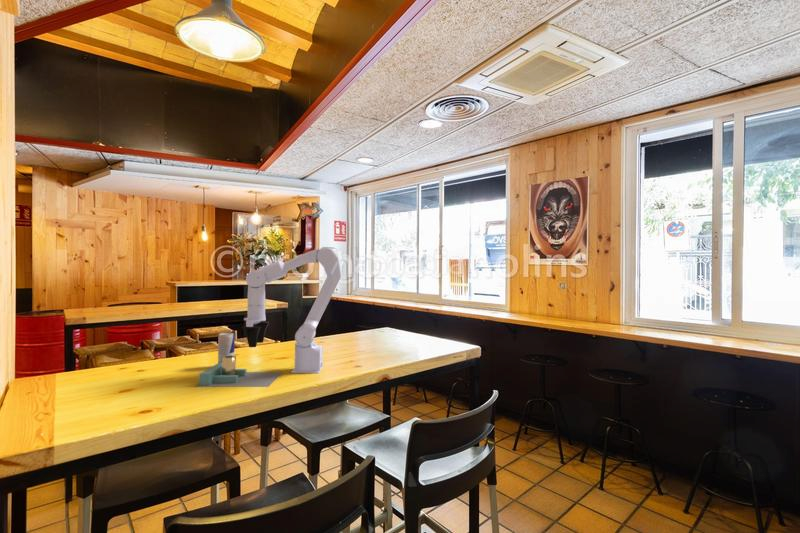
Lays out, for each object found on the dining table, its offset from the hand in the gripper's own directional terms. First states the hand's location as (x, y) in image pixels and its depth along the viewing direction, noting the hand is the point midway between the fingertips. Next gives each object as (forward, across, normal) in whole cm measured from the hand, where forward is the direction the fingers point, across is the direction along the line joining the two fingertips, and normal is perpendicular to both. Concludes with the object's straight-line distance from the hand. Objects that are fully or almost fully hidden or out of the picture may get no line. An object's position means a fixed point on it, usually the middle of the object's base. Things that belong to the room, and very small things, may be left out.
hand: (256, 344), depth 133 cm
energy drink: (+9, -6, -12) cm, 17 cm away
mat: (+9, +9, -2) cm, 13 cm away
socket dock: (+9, +9, -6) cm, 14 cm away
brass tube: (+9, +9, -6) cm, 14 cm away
